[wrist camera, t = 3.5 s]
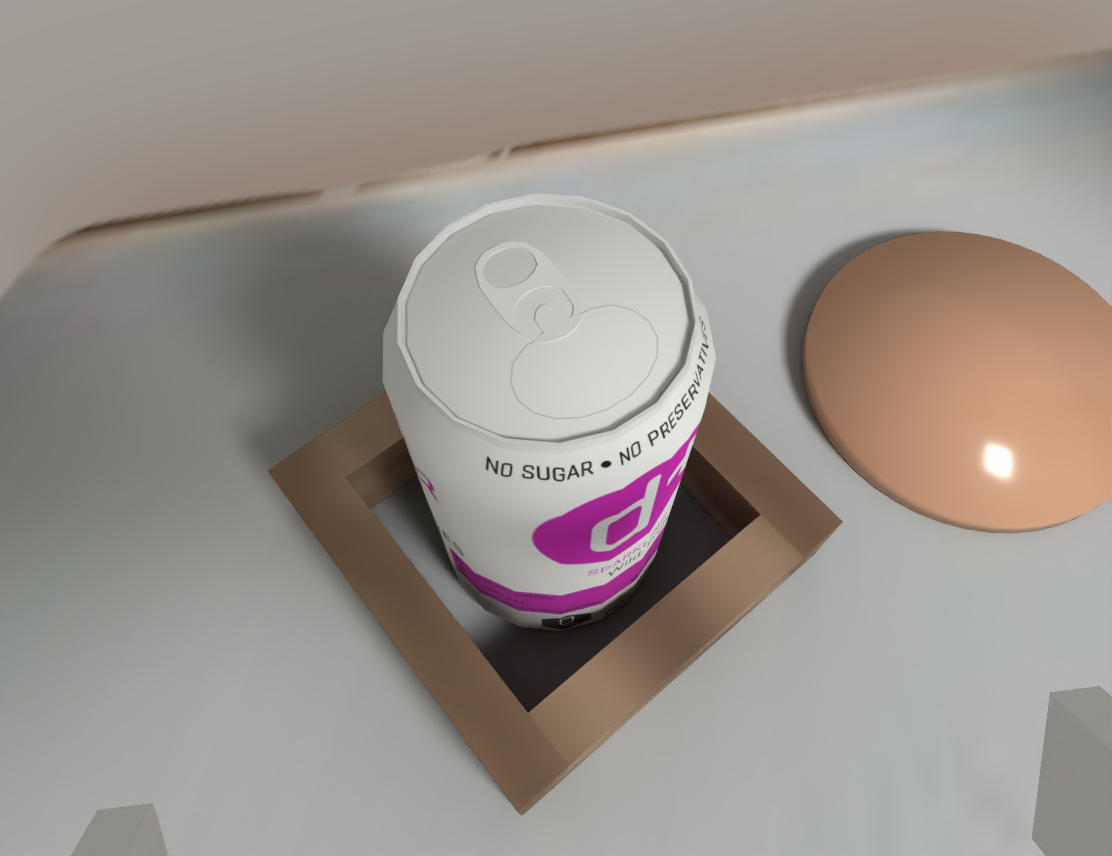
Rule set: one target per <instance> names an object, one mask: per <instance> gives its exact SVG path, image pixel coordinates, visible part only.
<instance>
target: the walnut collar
mask: <svg viewBox="0 0 1112 856" xmlns="http://www.w3.org/2000/svg"><path fill="white" fill-rule="evenodd" d="M268 472H269V473H270V475H271V476H272V477H273V479H274V480H275V481H276V483H277V484H278V485H279V487H280V488H281V490H282V491H283V492H284V494H285V495H286V496H287V498H288V499H289V500H290V502H291V503H292V505H293V506H294V507H295V509H296V510H297V511H298V513H299V514H300V515H301V517H302V518H303V520H304V521H305V522H306V524H307V525H308V526H309V528H310V529H311V530H312V532H313V533H314V535H315V536H316V537H317V539H318V540H319V541H320V543H321V544H322V545H323V547H324V548H325V550H326V551H327V552H328V554H329V555H330V556H331V558H332V559H333V560H334V562H335V563H336V565H337V566H338V567H339V569H340V570H341V571H342V573H343V574H344V575H345V577H346V578H347V580H348V581H349V582H350V584H351V585H352V586H353V588H354V589H355V590H356V592H357V593H358V595H359V596H360V597H361V599H362V600H363V601H364V603H365V604H366V605H367V607H368V608H369V610H370V611H371V612H372V614H373V615H374V616H375V618H376V619H377V620H378V622H379V623H380V625H381V626H382V627H383V629H384V630H385V631H386V633H387V634H388V635H389V637H390V638H391V640H392V641H393V642H394V644H395V645H396V646H397V648H398V649H399V650H400V652H401V653H402V655H403V656H404V657H405V659H406V660H407V661H408V663H409V664H410V665H411V667H412V668H413V670H414V671H415V672H416V674H417V675H418V676H419V678H420V679H421V680H422V682H423V683H424V685H425V686H426V687H427V689H428V690H429V691H430V693H431V694H432V695H433V697H434V698H435V700H436V701H437V702H438V704H439V705H440V706H441V708H442V709H443V710H444V712H445V713H446V715H447V716H448V717H449V719H450V720H451V721H452V723H453V724H454V725H455V727H456V728H457V730H458V731H459V732H460V734H461V735H462V736H463V738H464V739H465V740H466V742H467V743H468V745H469V746H470V747H471V749H472V750H473V751H474V753H475V754H476V755H477V757H478V758H479V760H480V761H481V762H482V764H483V765H484V766H485V768H486V769H487V770H488V772H489V773H490V775H491V776H492V777H493V779H494V780H495V781H496V783H497V784H498V785H499V787H500V788H501V790H502V791H503V792H504V794H505V795H506V796H507V798H508V799H509V800H510V802H511V803H512V805H513V806H514V807H515V809H516V810H517V811H518V812H519V813H520V814H521V815H523V814H524V813H525V812H527V811H528V810H529V809H530V808H531V807H532V806H533V805H534V804H536V803H537V802H538V801H539V800H540V799H541V798H542V797H543V796H544V795H546V794H547V793H548V792H549V791H550V790H551V789H552V788H553V787H555V786H556V785H557V784H558V783H559V782H560V781H561V780H562V779H563V778H565V777H566V776H567V775H568V774H569V773H570V772H571V771H572V770H574V769H575V768H576V767H577V766H578V765H579V764H580V763H581V762H582V761H584V760H585V759H586V758H587V757H588V756H589V755H590V754H591V753H593V752H594V751H595V750H596V749H597V748H598V747H599V746H600V745H601V744H603V743H604V742H605V741H606V740H607V739H608V738H609V737H610V736H612V735H613V734H614V733H615V732H616V731H617V730H618V729H619V728H620V727H622V726H623V725H624V724H625V723H626V722H627V721H628V720H629V719H631V718H632V717H633V716H634V715H635V714H636V713H637V712H638V711H639V710H641V709H642V708H643V707H644V706H645V705H646V704H647V703H648V702H649V701H651V700H652V699H653V698H654V697H655V696H656V695H657V694H658V693H660V692H661V691H662V690H663V689H664V688H665V687H666V686H667V685H668V684H670V683H671V682H672V681H673V680H674V679H675V678H676V677H677V676H679V675H680V674H681V673H682V672H683V671H684V670H685V669H686V668H687V667H689V666H690V665H691V664H692V663H693V662H694V661H695V660H696V659H698V658H699V657H700V656H701V655H702V654H703V653H704V652H705V651H706V650H708V649H709V648H710V647H711V646H712V645H713V644H714V643H715V642H717V641H718V640H719V639H720V638H721V637H722V636H723V635H724V634H725V633H727V632H728V631H729V630H730V629H731V628H732V627H733V626H734V625H736V624H737V623H738V622H739V621H740V620H741V619H742V618H743V617H744V616H746V615H747V614H748V613H749V612H750V611H751V610H752V609H753V608H755V607H756V606H757V605H758V604H759V603H760V602H761V601H762V600H763V599H765V598H766V597H767V596H768V595H769V594H770V593H771V592H772V591H774V590H775V589H776V588H777V587H778V586H779V585H780V584H781V583H782V582H784V581H785V580H786V579H787V578H788V577H789V576H790V575H791V574H792V573H794V572H795V571H796V570H797V569H798V568H799V567H800V566H801V565H803V564H804V563H805V562H806V561H807V560H808V559H809V558H810V557H811V556H813V555H814V554H815V553H816V552H817V551H818V549H819V548H820V547H821V546H822V545H823V544H824V543H825V541H826V540H827V539H828V538H829V537H830V536H831V535H832V533H833V532H834V531H835V530H836V529H837V528H838V527H839V525H840V524H841V523H842V522H843V521H842V520H841V519H839V518H838V517H837V516H836V515H835V514H834V513H833V512H832V511H831V510H830V509H829V508H828V507H827V506H826V505H825V504H824V503H823V502H822V501H821V500H820V499H819V498H818V497H817V496H816V495H815V494H814V493H813V492H812V491H810V490H809V489H808V488H807V487H806V486H805V485H804V484H803V483H802V482H801V481H800V480H799V479H798V478H797V477H796V476H795V475H794V474H793V473H792V472H791V471H790V470H789V469H788V468H787V467H786V466H785V465H784V464H783V463H781V462H780V461H779V460H778V459H777V458H776V457H775V456H774V455H773V454H772V453H771V452H770V451H769V450H768V449H767V448H766V447H765V446H764V445H763V444H762V443H761V442H760V441H759V440H758V439H757V438H756V437H755V436H754V435H752V434H751V433H750V432H749V431H748V430H747V429H746V428H745V427H744V426H743V425H742V424H741V423H740V422H739V421H738V420H737V419H736V418H735V417H734V416H733V415H732V414H731V413H730V412H729V411H728V410H727V409H726V408H725V407H723V406H722V405H721V404H720V403H719V402H718V401H717V400H716V399H715V398H714V397H713V396H712V395H711V394H710V393H709V392H708V396H707V401H706V405H705V409H704V412H703V415H702V418H701V421H700V424H699V427H698V430H697V433H696V436H695V439H694V442H693V445H692V448H691V451H690V454H689V457H688V460H687V463H686V466H685V469H684V472H683V475H682V478H681V481H680V484H681V485H682V486H683V487H684V488H685V489H686V490H687V491H688V492H689V493H690V494H691V495H692V496H693V497H694V498H695V499H696V500H697V501H698V502H699V503H700V504H701V505H702V506H703V507H704V509H705V510H706V511H707V512H708V513H709V514H710V515H711V516H712V517H713V518H714V519H715V520H716V521H717V522H718V523H719V524H720V525H721V526H722V527H723V528H724V529H725V530H726V531H727V532H728V533H729V534H730V535H731V537H732V538H733V539H731V540H730V541H729V542H728V543H727V544H726V545H724V546H723V547H722V548H721V549H720V550H719V551H717V552H716V553H715V554H714V555H713V556H711V557H710V558H709V559H708V560H707V561H706V562H704V563H703V564H702V565H701V566H700V567H699V568H697V569H696V570H695V571H694V572H693V573H692V574H690V575H689V576H688V577H687V578H686V579H685V580H683V581H682V582H681V583H680V584H679V585H677V586H676V587H675V588H674V589H673V590H672V591H670V592H669V593H668V594H667V595H666V596H665V597H663V598H662V599H661V600H660V601H659V602H658V603H656V604H655V605H654V606H653V607H652V608H651V609H649V610H648V611H647V612H646V613H645V614H644V615H642V616H641V617H640V618H639V619H638V620H636V621H635V622H634V623H633V624H632V625H631V626H629V627H628V628H627V629H626V630H625V631H624V632H622V633H621V634H620V635H619V636H618V637H617V638H615V639H614V640H613V641H612V642H611V643H610V644H608V645H607V646H606V647H605V648H604V649H602V650H601V651H600V652H599V653H598V654H597V655H595V656H594V657H593V658H592V659H591V660H590V661H588V662H587V663H586V664H585V665H584V666H583V667H581V668H580V669H579V670H578V671H577V672H576V673H574V674H573V675H572V676H571V677H570V678H569V679H567V680H566V681H565V682H564V683H563V684H561V685H560V686H559V687H558V688H557V689H556V690H554V691H553V692H552V693H551V694H550V695H549V696H547V697H546V698H545V699H544V700H543V701H542V702H540V703H539V704H538V705H537V706H536V707H535V708H533V709H532V710H531V711H530V712H529V713H528V712H527V711H526V710H525V708H524V707H523V706H522V705H521V703H520V702H519V701H518V699H517V698H516V697H515V696H514V694H513V693H512V692H511V690H510V689H509V688H508V687H507V685H506V684H505V683H504V681H503V680H502V679H501V678H500V676H499V675H498V674H497V672H496V671H495V670H494V668H493V667H492V666H491V665H490V663H489V662H488V661H487V659H486V658H485V657H484V656H483V654H482V653H481V652H480V650H479V649H478V648H477V647H476V645H475V644H474V643H473V641H472V640H471V639H470V638H469V636H468V635H467V634H466V632H465V631H464V630H463V629H462V627H461V626H460V625H459V623H458V622H457V621H456V619H455V618H454V617H453V616H452V614H451V613H450V612H449V610H448V609H447V608H446V607H445V605H444V604H443V603H442V601H441V600H440V599H439V598H438V596H437V595H436V594H435V592H434V591H433V590H432V589H431V587H430V586H429V585H428V583H427V582H426V581H425V579H424V578H423V577H422V576H421V574H420V573H419V572H418V570H417V569H416V568H415V567H414V565H413V564H412V563H411V561H410V560H409V559H408V558H407V556H406V555H405V554H404V552H403V551H402V550H401V549H400V547H399V546H398V545H397V543H396V542H395V541H394V540H393V538H392V537H391V536H390V534H389V533H388V532H387V530H386V529H385V528H384V527H383V525H382V524H381V523H380V521H379V520H378V519H377V518H376V516H375V515H374V514H373V512H372V511H371V510H370V509H371V508H373V507H374V506H376V505H377V504H378V503H380V502H381V501H383V500H384V499H385V498H387V497H388V496H390V495H391V494H392V493H394V492H395V491H396V490H398V489H399V488H401V487H402V486H403V485H405V484H406V483H408V482H409V481H410V480H412V479H413V478H415V477H416V476H417V472H416V470H415V467H414V464H413V462H412V459H411V456H410V454H409V451H408V448H407V446H406V443H405V440H404V438H403V435H402V432H401V430H400V427H399V424H398V422H397V419H396V416H395V414H394V411H393V408H392V406H391V403H390V400H389V398H388V395H387V392H386V391H385V392H384V393H383V394H381V395H380V396H378V397H377V398H375V399H374V400H372V401H371V402H369V403H368V404H366V405H365V406H363V407H362V408H360V409H359V410H357V411H356V412H354V413H353V414H351V415H350V416H348V417H347V418H345V419H344V420H342V421H341V422H339V423H338V424H336V425H335V426H334V427H332V428H331V429H329V430H328V431H326V432H325V433H323V434H322V435H320V436H319V437H317V438H316V439H314V440H313V441H311V442H310V443H308V444H307V445H305V446H304V447H302V448H301V449H299V450H298V451H296V452H295V453H293V454H292V455H290V456H289V457H287V458H286V459H285V460H283V461H282V462H280V463H279V464H277V465H276V466H274V467H273V468H271V469H270V470H268Z"/></svg>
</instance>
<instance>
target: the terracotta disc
mask: <svg viewBox="0 0 1112 856" xmlns="http://www.w3.org/2000/svg"><path fill="white" fill-rule="evenodd" d="M802 368H803V377H804V384H805V387H806V391H807V395H808V398H809V402H810V404H811V407H812V409H813V411H814V414H815V416H816V418H817V421H818V422H819V424H820V426H821V427H822V429H823V431H824V433H825V434H826V436H827V438H828V439H829V441H830V442H831V443H832V445H833V446H834V447H835V449H836V450H837V451H838V452H839V454H840V455H841V456H842V457H843V459H844V460H845V461H846V462H847V463H848V464H849V465H850V466H851V467H852V468H853V469H854V470H855V471H856V472H857V473H858V474H859V475H860V476H862V477H863V478H864V479H865V480H866V481H868V482H869V483H870V484H871V485H872V486H874V487H875V488H876V489H877V490H879V491H880V492H882V493H883V494H885V495H886V496H888V497H889V498H891V499H892V500H894V501H895V502H897V503H899V504H901V505H903V506H905V507H907V508H909V509H911V510H913V511H914V512H916V513H918V514H921V515H923V516H926V517H929V518H931V519H934V520H936V521H939V522H941V523H945V524H949V525H953V526H956V527H960V528H964V529H969V530H976V531H983V532H989V533H1021V532H1031V531H1038V530H1042V529H1046V528H1051V527H1055V526H1059V525H1061V524H1064V523H1066V522H1069V521H1071V520H1074V519H1076V518H1078V517H1080V516H1082V515H1083V514H1085V513H1087V512H1088V511H1090V510H1092V509H1093V508H1095V507H1097V506H1098V505H1100V504H1101V503H1103V502H1104V501H1106V500H1108V499H1109V498H1110V497H1112V307H1111V306H1110V305H1109V304H1108V303H1107V302H1106V301H1105V300H1104V299H1103V298H1102V297H1101V296H1100V295H1099V294H1098V293H1097V292H1096V291H1095V290H1094V289H1093V288H1091V287H1090V286H1089V285H1088V284H1086V283H1085V282H1084V281H1083V280H1081V279H1080V278H1079V277H1078V276H1076V275H1075V274H1073V273H1072V272H1070V271H1069V270H1067V269H1066V268H1064V267H1063V266H1061V265H1059V264H1058V263H1056V262H1054V261H1052V260H1050V259H1048V258H1047V257H1045V256H1043V255H1041V254H1039V253H1036V252H1034V251H1032V250H1029V249H1027V248H1025V247H1022V246H1020V245H1017V244H1013V243H1010V242H1007V241H1004V240H1001V239H997V238H992V237H988V236H983V235H979V234H970V233H962V232H927V233H917V234H912V235H907V236H902V237H898V238H895V239H892V240H888V241H885V242H882V243H880V244H878V245H876V246H874V247H872V248H869V249H867V250H865V251H864V252H862V253H861V254H859V255H858V256H856V257H855V258H853V259H852V260H850V261H849V262H848V263H847V264H846V265H845V266H843V267H842V268H841V269H840V270H839V271H838V272H837V273H836V274H835V275H834V277H833V278H832V279H831V280H830V282H829V283H828V284H827V285H826V287H825V289H824V291H823V292H822V294H821V296H820V297H819V299H818V301H817V303H816V305H815V308H814V310H813V312H812V314H811V317H810V319H809V322H808V325H807V327H806V331H805V336H804V341H803V349H802Z"/></svg>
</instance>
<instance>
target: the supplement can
mask: <svg viewBox="0 0 1112 856" xmlns="http://www.w3.org/2000/svg"><path fill="white" fill-rule="evenodd" d="M715 360H716V356H715V351H714V346H713V341H712V336H711V330H710V325H709V320H708V315H707V310H706V308H705V307H704V305H703V304H702V302H701V301H700V299H699V297H698V296H697V294H696V293H695V291H694V289H693V284H692V278H691V277H690V275H689V274H688V272H687V271H686V269H685V268H684V266H683V265H682V263H681V262H680V260H679V258H678V257H677V255H676V254H675V252H674V251H673V249H672V248H671V246H670V245H669V243H668V242H667V241H666V240H665V239H664V238H662V237H661V236H660V235H658V234H657V233H656V232H655V231H653V230H652V229H651V228H649V227H648V226H647V225H645V224H644V223H643V222H641V221H640V220H639V219H637V218H636V217H635V216H634V215H632V214H631V213H629V212H626V211H623V210H620V209H618V208H615V207H612V206H609V205H607V204H604V203H601V202H598V201H596V200H593V199H590V198H587V197H581V196H567V195H553V194H539V193H536V194H531V195H526V196H521V197H516V198H511V199H506V200H501V201H496V202H492V203H488V204H486V205H484V206H482V207H481V208H479V209H477V210H475V211H473V212H471V213H469V214H467V215H465V216H463V217H461V218H460V219H458V220H456V221H454V222H452V223H450V224H448V225H447V226H446V227H445V228H444V229H443V230H442V231H441V232H440V233H439V234H438V235H437V236H436V237H435V238H434V239H433V240H432V241H431V242H430V243H429V244H428V245H427V246H426V247H425V248H424V249H423V250H422V251H421V252H420V253H419V254H418V255H417V256H416V258H415V260H414V262H413V264H412V267H411V269H410V271H409V273H408V276H407V278H406V280H405V283H404V285H403V287H402V290H401V292H400V294H399V296H398V299H397V302H396V304H395V306H394V308H393V311H392V313H391V315H390V318H389V320H388V322H387V325H386V327H385V329H384V331H383V384H384V387H385V390H386V392H387V395H388V398H389V400H390V403H391V406H392V408H393V411H394V414H395V416H396V419H397V422H398V424H399V427H400V430H401V432H402V435H403V438H404V440H405V443H406V446H407V448H408V451H409V454H410V456H411V459H412V462H413V464H414V467H415V470H416V472H417V475H418V478H419V480H420V483H421V486H422V488H423V491H424V494H425V496H426V499H427V502H428V504H429V507H430V510H431V512H432V515H433V518H434V520H435V523H436V526H437V528H438V531H439V534H440V536H441V539H442V542H443V544H444V547H445V550H446V552H447V554H448V557H449V559H450V562H451V564H452V566H453V569H454V571H455V574H456V576H457V578H458V581H459V583H460V584H461V585H462V586H463V587H464V588H465V589H466V590H467V592H468V593H469V594H470V595H471V596H472V597H473V598H474V599H475V600H476V601H477V602H478V603H479V604H480V605H481V606H482V607H483V608H484V609H485V610H486V611H488V612H490V613H492V614H494V615H496V616H498V617H500V618H502V619H505V620H507V621H509V622H511V623H513V624H515V625H517V626H519V627H523V628H534V629H544V630H555V631H562V630H566V629H570V628H574V627H578V626H581V625H585V624H589V623H593V622H597V621H599V620H601V619H602V618H604V617H605V616H606V615H608V614H609V613H611V612H612V611H614V610H615V609H616V608H618V607H619V606H621V605H622V604H624V603H625V602H626V601H628V600H629V599H631V597H632V596H633V594H634V593H635V591H636V590H637V588H638V587H639V585H640V584H641V582H642V581H643V579H644V578H645V576H646V575H647V574H648V572H649V571H650V569H651V567H652V564H653V561H654V558H655V556H656V553H657V550H658V547H659V544H660V541H661V538H662V535H663V532H664V529H665V526H666V523H667V520H668V517H669V514H670V511H671V508H672V505H673V502H674V499H675V496H676V493H677V490H678V487H679V484H680V481H681V478H682V475H683V472H684V469H685V466H686V463H687V460H688V457H689V454H690V451H691V448H692V445H693V442H694V439H695V436H696V433H697V430H698V427H699V424H700V421H701V418H702V415H703V412H704V409H705V405H706V401H707V396H708V392H709V387H710V383H711V378H712V374H713V369H714V365H715Z"/></svg>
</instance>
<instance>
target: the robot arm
mask: <svg viewBox="0 0 1112 856" xmlns="http://www.w3.org/2000/svg"><path fill="white" fill-rule="evenodd" d="M1032 839H1033V841H1034V842H1035V843H1036V844H1037V846H1038V847H1039V848H1040V849H1041V851H1042V852H1043V853H1044V854H1045V856H1112V697H1111V696H1110V695H1109V694H1108V693H1107V692H1105V691H1104V690H1103V689H1102V688H1101V687H1100V686H1098V687H1090V688H1082V689H1074V690H1066V691H1058V692H1050V698H1049V706H1048V714H1047V722H1046V730H1045V738H1044V746H1043V754H1042V762H1041V770H1040V778H1039V785H1038V793H1037V801H1036V809H1035V817H1034V825H1033V833H1032ZM71 856H168V853H167V849H166V846H165V842H164V839H163V836H162V832H161V829H160V825H159V822H158V818H157V815H156V811H155V808H154V804H153V803H151V804H143V805H135V806H127V807H119V808H111V809H102V810H97V812H96V814H95V815H94V817H93V819H92V821H91V822H90V824H89V826H88V827H87V829H86V831H85V833H84V834H83V836H82V838H81V839H80V841H79V843H78V845H77V846H76V848H75V850H74V851H73V853H72V855H71Z"/></svg>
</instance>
